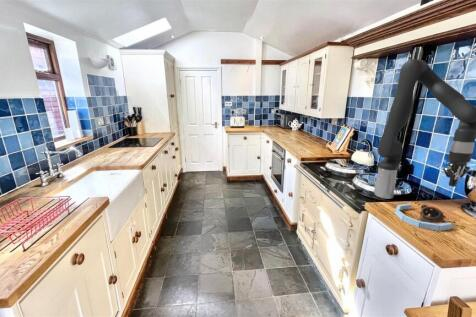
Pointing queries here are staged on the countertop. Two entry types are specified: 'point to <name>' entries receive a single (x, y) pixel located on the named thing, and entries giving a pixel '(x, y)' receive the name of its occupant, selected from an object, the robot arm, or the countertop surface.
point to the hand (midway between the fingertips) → (452, 185)
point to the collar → (419, 223)
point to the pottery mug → (431, 214)
